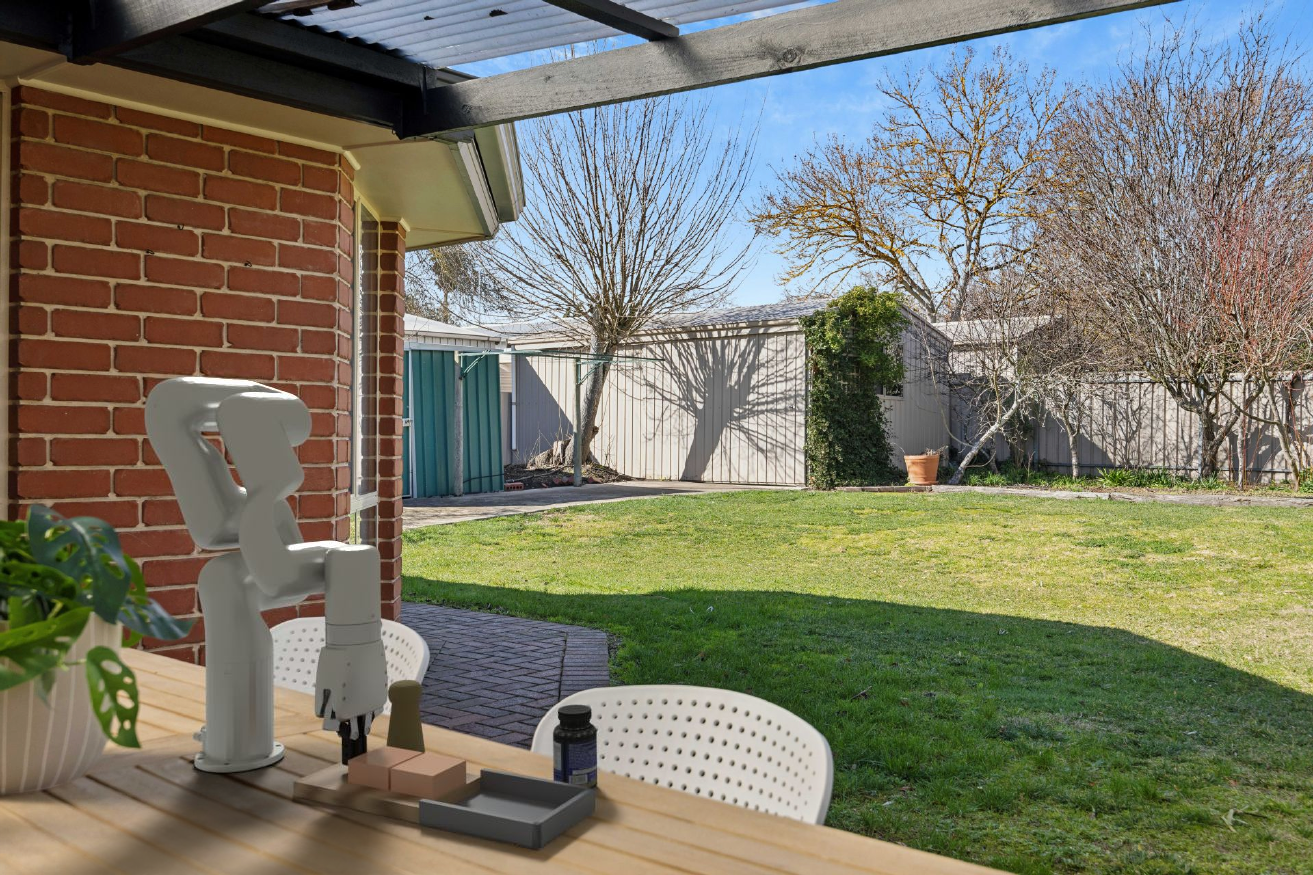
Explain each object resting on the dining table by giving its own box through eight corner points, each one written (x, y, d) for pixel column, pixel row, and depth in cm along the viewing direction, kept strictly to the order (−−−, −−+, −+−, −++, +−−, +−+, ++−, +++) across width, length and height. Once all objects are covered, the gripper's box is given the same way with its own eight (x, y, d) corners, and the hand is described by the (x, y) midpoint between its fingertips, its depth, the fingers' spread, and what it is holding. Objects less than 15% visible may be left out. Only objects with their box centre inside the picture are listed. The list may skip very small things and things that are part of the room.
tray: (419, 824, 123) (418, 800, 123) (483, 789, 135) (483, 767, 135) (537, 850, 115) (537, 824, 115) (595, 810, 127) (595, 787, 127)
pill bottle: (603, 782, 138) (603, 704, 138) (586, 797, 132) (586, 716, 132) (564, 778, 140) (563, 701, 140) (545, 792, 134) (545, 712, 134)
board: (293, 795, 133) (293, 781, 133) (361, 767, 145) (361, 753, 145) (420, 823, 123) (420, 807, 123) (482, 790, 135) (482, 775, 135)
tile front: (390, 790, 129) (390, 768, 129) (425, 774, 135) (425, 752, 135) (432, 799, 126) (432, 775, 126) (466, 782, 132) (466, 759, 132)
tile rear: (348, 782, 132) (348, 760, 132) (383, 766, 139) (383, 745, 139) (387, 790, 129) (387, 767, 129) (422, 773, 136) (422, 752, 136)
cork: (414, 759, 148) (414, 686, 148) (378, 756, 149) (377, 684, 149) (431, 746, 154) (431, 677, 154) (396, 744, 155) (396, 675, 155)
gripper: (370, 622, 145) (371, 746, 145) (292, 641, 132) (293, 777, 132) (409, 626, 142) (411, 752, 142) (333, 645, 128) (335, 785, 128)
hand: (354, 764), depth 137 cm, fingers closed
